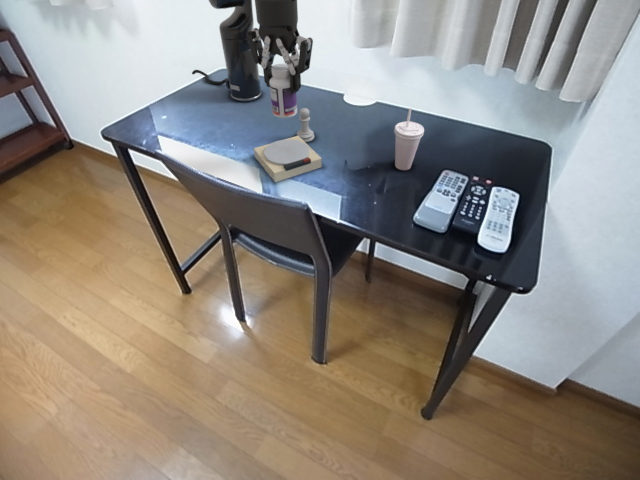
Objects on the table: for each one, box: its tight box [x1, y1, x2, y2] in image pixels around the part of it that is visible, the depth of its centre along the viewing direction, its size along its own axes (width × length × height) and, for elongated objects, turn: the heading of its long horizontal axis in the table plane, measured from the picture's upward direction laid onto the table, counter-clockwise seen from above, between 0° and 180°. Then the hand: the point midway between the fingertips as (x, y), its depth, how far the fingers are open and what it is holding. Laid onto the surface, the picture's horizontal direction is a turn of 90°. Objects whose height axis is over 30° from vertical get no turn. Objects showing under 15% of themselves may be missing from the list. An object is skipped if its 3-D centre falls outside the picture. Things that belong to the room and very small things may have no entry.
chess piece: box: [296, 107, 315, 143], centre depth 95 cm, size 5×5×8 cm
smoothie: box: [393, 107, 425, 171], centre depth 83 cm, size 6×6×14 cm
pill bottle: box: [269, 63, 298, 119], centre depth 78 cm, size 5×5×10 cm
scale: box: [253, 135, 323, 183], centre depth 88 cm, size 12×12×3 cm
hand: (283, 88), depth 77 cm, fingers closed on pill bottle, 5 cm apart
